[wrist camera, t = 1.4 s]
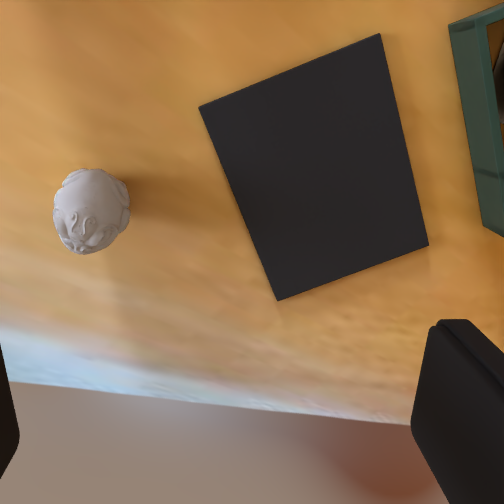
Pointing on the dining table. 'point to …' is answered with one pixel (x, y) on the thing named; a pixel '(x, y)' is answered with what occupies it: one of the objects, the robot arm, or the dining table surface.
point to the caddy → (481, 111)
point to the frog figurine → (90, 210)
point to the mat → (320, 168)
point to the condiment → (500, 84)
